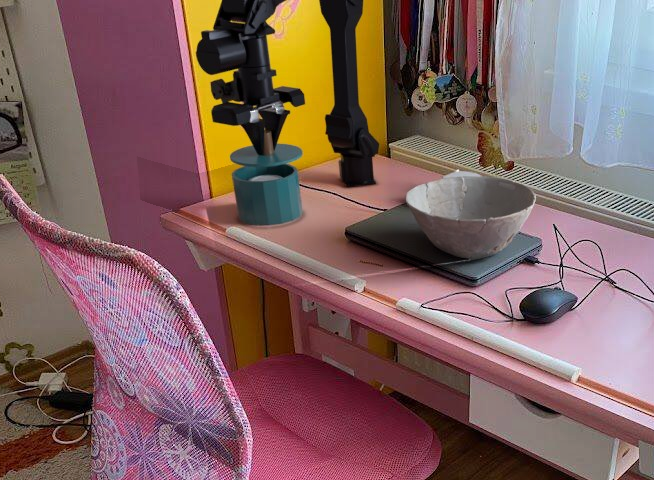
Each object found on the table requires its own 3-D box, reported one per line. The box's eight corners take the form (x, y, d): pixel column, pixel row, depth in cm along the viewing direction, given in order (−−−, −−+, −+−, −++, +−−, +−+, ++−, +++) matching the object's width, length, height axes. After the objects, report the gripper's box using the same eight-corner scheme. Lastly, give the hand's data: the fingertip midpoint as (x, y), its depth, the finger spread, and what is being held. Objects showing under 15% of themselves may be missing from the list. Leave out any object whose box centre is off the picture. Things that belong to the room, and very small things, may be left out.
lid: (296, 146, 169) (293, 119, 166) (309, 165, 158) (306, 137, 155) (226, 153, 165) (222, 126, 162) (235, 173, 154) (230, 145, 152)
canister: (296, 203, 175) (291, 159, 170) (307, 223, 165) (302, 177, 160) (235, 210, 172) (228, 166, 167) (243, 231, 162) (235, 185, 157)
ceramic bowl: (442, 220, 166) (440, 169, 160) (553, 239, 157) (555, 185, 152) (382, 262, 149) (379, 206, 144) (503, 285, 140) (504, 226, 135)
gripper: (257, 51, 163) (268, 135, 171) (181, 69, 149) (198, 159, 158) (302, 57, 158) (311, 142, 166) (228, 76, 144) (242, 168, 153)
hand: (266, 152), depth 161 cm, fingers closed on lid, 3 cm apart
